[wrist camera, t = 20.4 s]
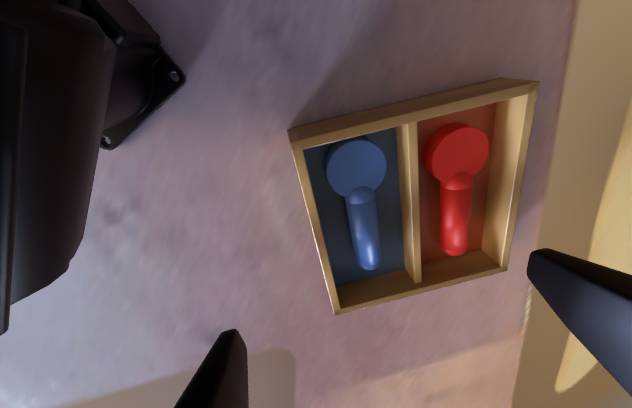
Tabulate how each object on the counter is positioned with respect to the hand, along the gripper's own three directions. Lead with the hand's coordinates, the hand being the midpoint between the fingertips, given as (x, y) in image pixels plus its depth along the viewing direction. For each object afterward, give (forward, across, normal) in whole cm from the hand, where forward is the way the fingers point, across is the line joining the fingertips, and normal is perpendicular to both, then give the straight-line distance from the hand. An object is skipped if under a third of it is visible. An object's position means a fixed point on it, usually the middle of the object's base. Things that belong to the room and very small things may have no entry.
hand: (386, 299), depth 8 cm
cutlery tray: (+12, -5, +4) cm, 14 cm away
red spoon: (+11, -8, +4) cm, 15 cm away
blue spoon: (+11, -2, +3) cm, 12 cm away
